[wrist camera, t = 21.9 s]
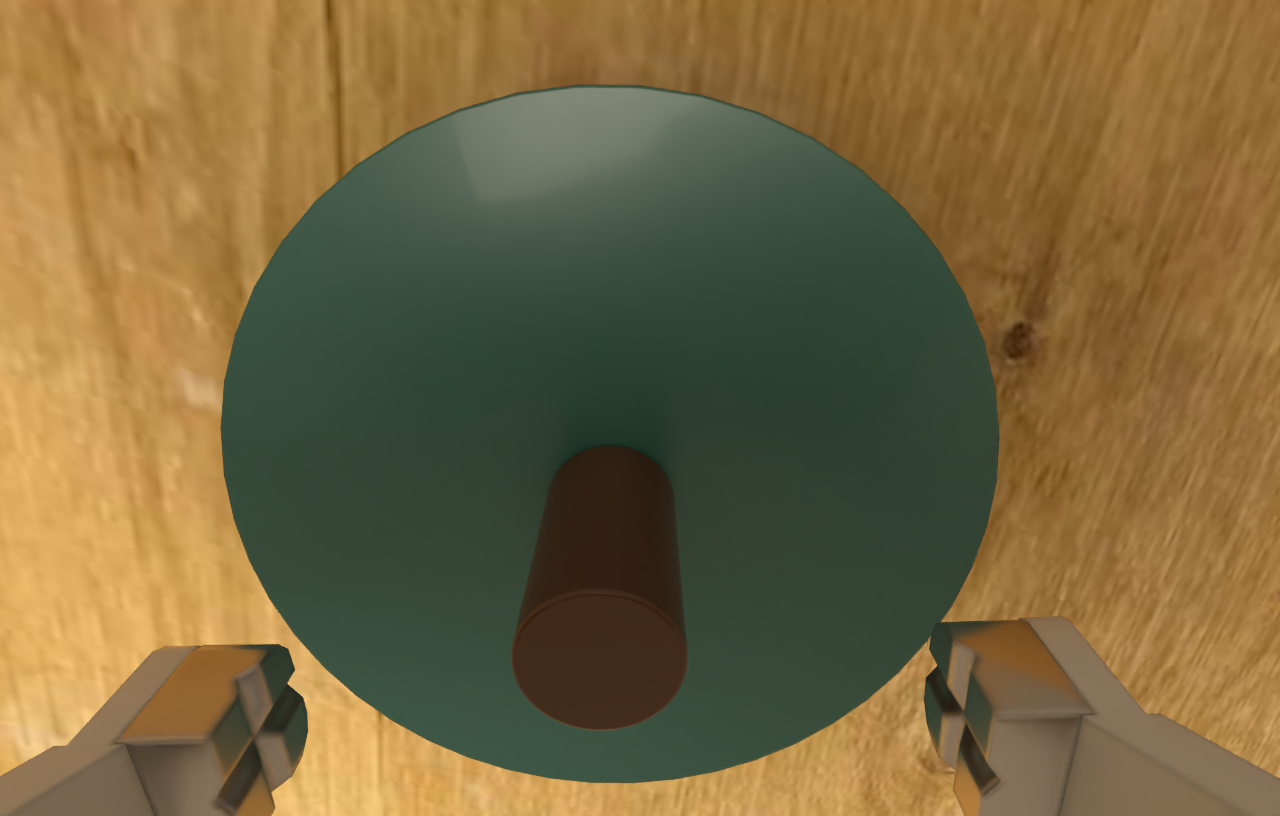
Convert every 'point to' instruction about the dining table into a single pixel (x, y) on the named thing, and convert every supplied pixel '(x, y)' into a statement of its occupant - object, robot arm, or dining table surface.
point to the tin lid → (610, 433)
